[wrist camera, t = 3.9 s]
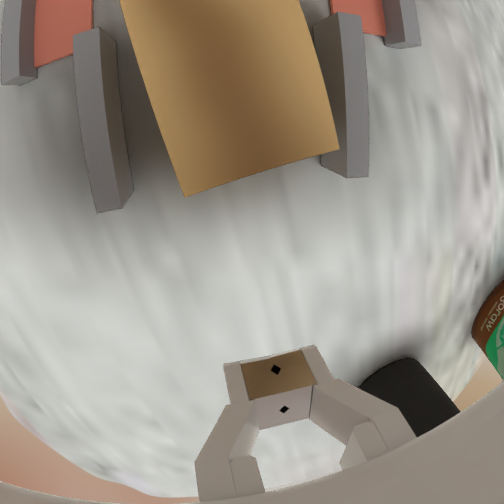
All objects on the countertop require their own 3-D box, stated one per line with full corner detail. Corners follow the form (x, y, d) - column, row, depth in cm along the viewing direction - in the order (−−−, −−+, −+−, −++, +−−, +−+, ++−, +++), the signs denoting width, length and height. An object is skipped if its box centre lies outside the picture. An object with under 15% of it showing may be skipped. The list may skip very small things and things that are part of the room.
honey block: (255, 0, 11) (283, -39, 7) (296, 136, 15) (339, 149, 11) (140, 31, 11) (118, -1, 7) (186, 171, 15) (184, 197, 10)
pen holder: (404, 398, 30) (442, 457, 22) (338, 420, 29) (372, 492, 20) (432, 344, 26) (485, 409, 18) (359, 367, 25) (411, 453, 16)
